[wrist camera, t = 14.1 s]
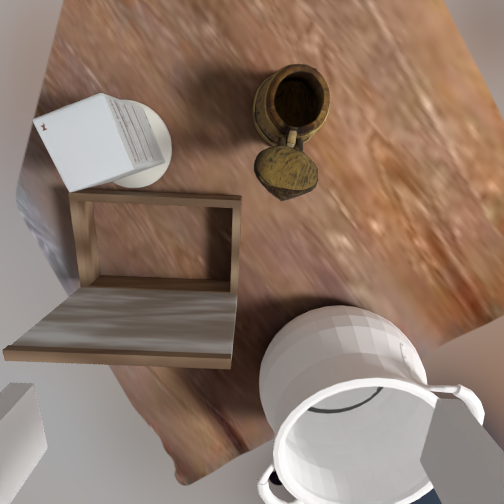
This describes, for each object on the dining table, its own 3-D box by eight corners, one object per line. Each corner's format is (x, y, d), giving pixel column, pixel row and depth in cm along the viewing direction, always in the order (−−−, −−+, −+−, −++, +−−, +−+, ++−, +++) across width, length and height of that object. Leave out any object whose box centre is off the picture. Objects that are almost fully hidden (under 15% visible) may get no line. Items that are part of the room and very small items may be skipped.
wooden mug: (238, 172, 44) (229, 190, 27) (261, 63, 40) (268, 2, 23) (300, 187, 45) (331, 213, 27) (329, 81, 40) (386, 35, 23)
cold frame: (83, 188, 44) (-29, 217, 27) (241, 196, 45) (234, 229, 27) (94, 282, 49) (4, 360, 31) (238, 288, 49) (230, 369, 32)
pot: (374, 261, 48) (438, 321, 32) (438, 373, 54) (519, 472, 38) (220, 349, 53) (205, 441, 36) (296, 442, 59) (313, 557, 43)
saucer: (84, 98, 41) (81, 97, 40) (171, 102, 41) (169, 101, 40) (94, 185, 44) (91, 186, 44) (173, 189, 45) (172, 189, 44)
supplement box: (117, 181, 43) (66, 194, 31) (92, 125, 41) (27, 117, 29) (167, 164, 43) (135, 171, 31) (145, 106, 40) (100, 89, 28)
